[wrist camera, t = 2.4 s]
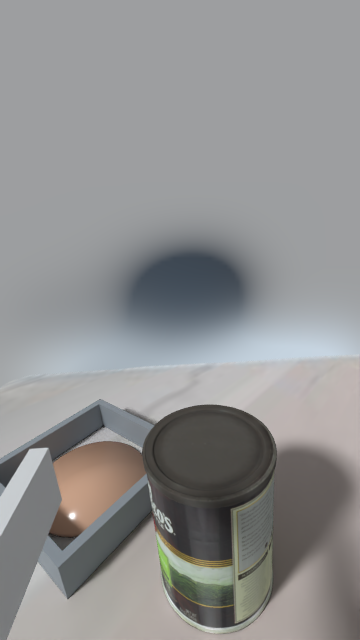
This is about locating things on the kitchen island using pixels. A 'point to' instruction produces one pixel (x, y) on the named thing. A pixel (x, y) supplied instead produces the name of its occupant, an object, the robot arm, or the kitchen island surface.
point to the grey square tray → (115, 521)
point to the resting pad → (93, 483)
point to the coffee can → (213, 513)
